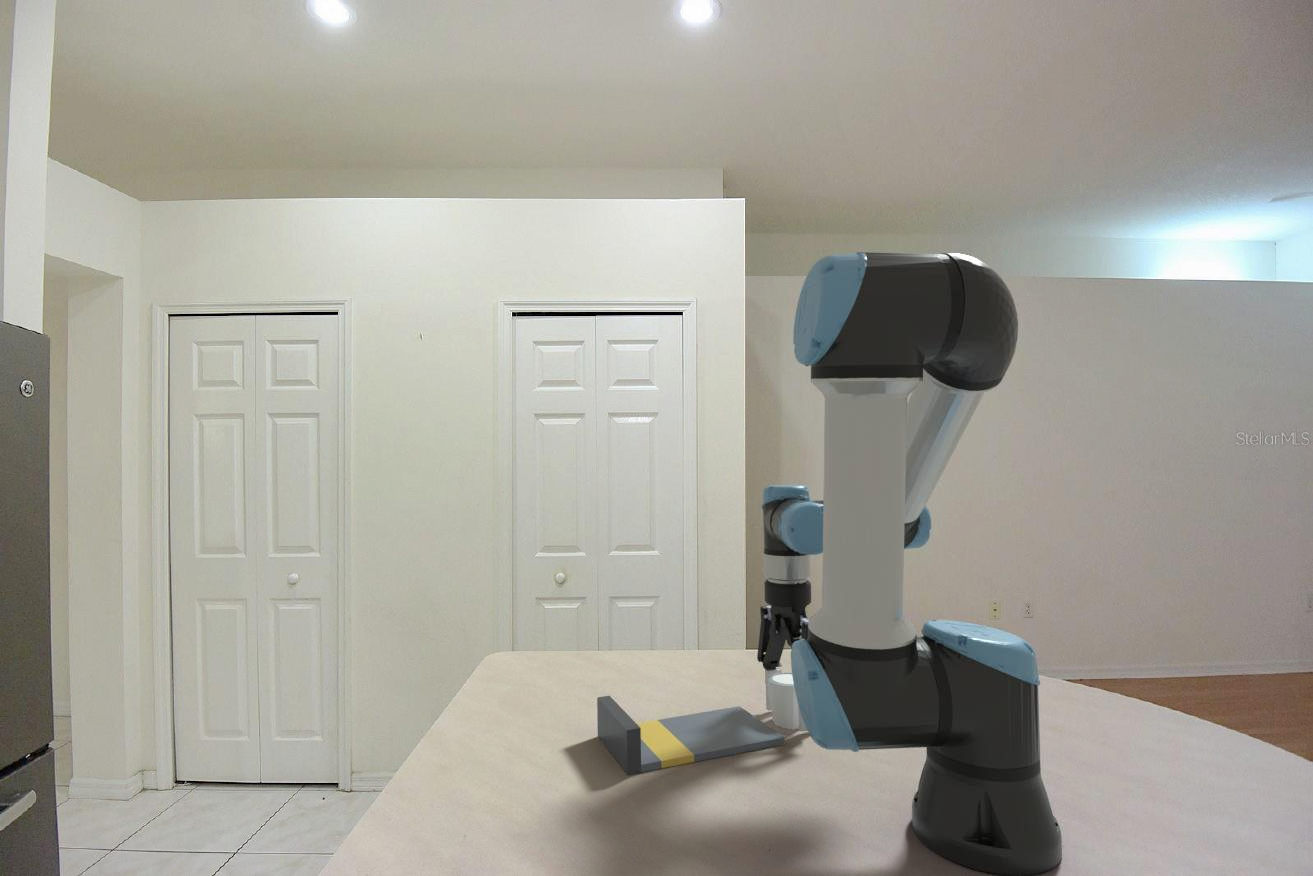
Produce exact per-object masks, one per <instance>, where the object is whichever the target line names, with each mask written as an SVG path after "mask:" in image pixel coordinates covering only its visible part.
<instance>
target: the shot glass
mask: <svg viewBox="0 0 1313 876" xmlns="http://www.w3.org/2000/svg"><path fill="white" fill-rule="evenodd" d="M768 681H769V690H770V699H771V708H772V710H771V716H772V723H773V724H774V725H776V726H777V727H779V728H784V729H788V730H789V729H792V730H796V729H799V714H798V701H797V697H796V692H795V687H794V682H793V676H792V672H782V673H777V674H773V675H771V676H769V679H768Z"/></svg>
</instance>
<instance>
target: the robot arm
mask: <svg viewBox="0 0 1313 876" xmlns="http://www.w3.org/2000/svg"><path fill="white" fill-rule="evenodd" d="M795 311H796V312H795V317H794V324H793V336H792V337H793V339H792V340H793V345H794V351H793V352H794V356H795V359H796V361H797V362H798V363H799V364H801V365H804V366H805V367H809V366H810V383H812V385H813V386H814V387H816V388H817V390H819V392H820V393H821V394H822V396H823V398H824V421H823V422H824V424H823V425H824V426H823V427H824V429H823V431H824V432H823V433H824V434H823V438H824V439H823V499H822V500H811V498H810V492H809V488H808V487H807V486H806V485H803V484H772V485H767V486H765V488H763V492H762V493H763V495H762V498H763V499H762V504H761V509H762V520H763V522H762V523H763V526H762V527H763V576H764V578H766V580H765V581H763V582H764V583H763V584H764V601H765V603H766V604H767V605H766V606H765V605H764V606H760V608H759V609H760V611H759V612H760V627H759V637H758V647H757V648H758V649H757V655H756V656H757V657H756V659H757V662H759V663H762V667H763V669H764V670H765V671H764V672H765V673H764V676H765V677H764V678H765V703H766V704H765V705H766V706H765V708H766V710H767V711H772V708H771V699H770V690H769V681H768V679H769V676H771V675H773V674H777V673H783V671H782V668H781V667H782V666H783V664H782V663H781V658H782V654H783V652H784V648H785V645H786V643H787V645H788V646H789V647H790V649H791V650H790V667H791V668H790V669H791V673H792V676H793V682H794V687H795V692H796V697H797V701H798V714H799V728H798V731H799V732H801V733H804V732H808V735H809V736H810V738H811V740H812V741H813V742H814V743H815V744H816V745H817V746H818V747H820V748H822V749H825V750H831V751H833V750H834V751H835V750H836V751H837V750H838V751H840V750H841V751H843V750H844V751H845V750H846V751H851V752H854V753H857V752H859V751H862V750H864V751H866V750H869V751H870V750H888V749H890V750H891V749H916V748H918V749H919V748H926V755H925V756H926V759H925V762H924V765H923V768H922V770H921V774H920V778H919V782H918V787H917V791H916V792H915V793H914V795H913V798H912V803H911V821H912V822H911V823H912V828H913V830H914V833H915V834H916V836H917V837H918V839H919V840H920V841H921V842H922V843H923V844H924V845H926V846H927V847H928V848H929V849H931V850H932V851H933V852H935V853H937V854H938V855H940V856H942V857H943V858H946V859H947V860H949V861H951V862H954V863H956V864H959V865H962V866H964V867H967V868H970V869H974V870H977V871H982V872H985V873H991V874H995V875H996V874H997V875H1004V876H1031V875H1038V874H1041V873H1044V872H1048V871H1050V870H1051V869H1054V868H1056V866H1057V865H1058V864H1059V863H1060V862H1061V860H1062V857H1063V841H1062V830H1061V826H1060V824H1059V822H1058V820H1057V818H1056V817H1055V815H1054V814H1053V809H1052V807H1051V803H1050V799H1049V796H1048V794H1047V790H1046V788H1045V784H1044V781H1043V777H1042V773H1041V771H1042V770H1041V769H1042V768H1041V767H1042V766H1041V738H1040V737H1041V736H1040V735H1041V734H1040V733H1041V732H1040V731H1041V730H1040V708H1039V707H1040V701H1039V699H1040V698H1039V686H1041V680H1040V678H1039V670H1038V663H1037V662H1038V661H1037V657H1036V656H1037V655H1036V651H1035V649H1034V648H1033V647H1032V645H1031V644H1030V642H1028V641H1027V640H1025V639H1024V638H1022V637H1020V636H1018V635H1016V634H1014V633H1011V632H1008V631H1005V630H1001V629H998V628H995V627H990V626H987V625H986V626H985V625H982V624H976V623H972V622H965V621H959V620H951V619H932V620H927V621H925V622H924V624H923V626H922V629H921V634H922V635H923V636H918V631H917V629H916V628H915V626H914V625H913V623H911V622H910V621H909V620H908V619H907V617H906V616H904V613H903V608H904V607H903V604H904V565H905V563H904V562H905V557H904V556H905V550H909V549H920V548H922V547H924V546H925V545H926V544H927V543H928V541H929V540H930V537H931V529H932V518H931V513H930V510H929V508H928V506H927V503H928V501H929V500H930V498H931V495H932V494H933V492H934V490H935V488H936V486H937V484H938V482H939V481H940V479H941V477H942V475H943V473H944V471H945V469H946V467H947V465H948V464H949V462H950V460H951V457H952V456H953V454H954V451H955V450H956V448H957V446H958V445H959V442H960V440H961V439H962V437H963V435H964V433H965V430H966V429H967V427H968V425H969V423H970V421H971V419H972V418H973V416H974V414H975V411H976V410H977V408H978V406H979V404H980V402H981V400H982V398H983V396H984V395H985V392H986V393H987V392H989V391H992V390H994V389H996V388H997V387H998V386H999V385H1000V384H1001V382H1002V380H1003V379H1004V377H1005V375H1006V373H1007V371H1008V370H1009V367H1010V366H1011V363H1012V361H1013V358H1014V355H1015V353H1016V348H1017V344H1018V338H1019V337H1018V334H1019V320H1018V319H1019V318H1018V312H1017V308H1016V304H1015V301H1014V298H1013V295H1012V293H1011V291H1010V289H1009V287H1008V286H1007V284H1006V282H1005V281H1004V280H1003V278H1002V277H1001V276H1000V275H999V274H998V273H997V272H996V271H995V270H994V269H993V268H992V267H990V266H989V265H988V264H986V263H985V262H982V261H981V260H980V259H978V258H976V257H973V256H970V255H966V254H963V253H962V254H961V253H954V252H944V253H911V252H910V253H905V252H904V253H903V252H865V251H857V252H853V253H851V252H850V253H842V254H841V253H840V254H829V255H826V256H824V257H821V258H820V259H818V260H817V261H816V262H815V263H813V265H812V266H811V268H810V270H809V271H808V273H807V275H806V277H805V279H804V281H803V285H802V287H801V290H800V293H799V297H798V300H797V304H796V310H795ZM909 395H910V396H909ZM908 397H909V398H908ZM821 554H822V581H821V582H822V583H821V584H822V586H821V588H822V591H821V594H822V595H821V596H822V597H821V598H822V600H821V608H820V609H819V610H818V611H817V612H816V613H814V614H813V615H812V616H810V618H808V616H807V613H806V608H807V606H809V605H810V604H811V603H812V583H811V581H810V580H809V579H810V578H811V556H816V555H821Z"/></svg>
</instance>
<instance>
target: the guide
mask: <svg viewBox="0 0 1313 876" xmlns="http://www.w3.org/2000/svg"><path fill="white" fill-rule="evenodd" d="M596 701H597V705H596V706H597V711H596V712H597V738H598V739H599V740H600V741H601V743H602V744H603V745H604V747H605V748H606V749H607V751H609V753H610V755H611V756H612V757H613V758H614V760H615V761H616V762H617V763H618V765H619V766H620V767H621V768H622V770H623V771H624V773H625V774H626V775H633V774H640V773H644V772H649V771H654V770H659V769H666V768H671V767H674V766H680V765H683V764H684V765H685V764H690V763H694V762H700V761H704V760H710V759H715V758H720V757H721V758H722V757H726V756H730V755H735V754H741V753H747V752H750V751H755V750H761V749H766V748H771V747H776V746H777V747H778V746H782V745H785V744H786V741H785V740H786V737H785V736H784V735H783V734H781V733H780V732H778V731H776V730H775V729H774V728H772V727H770V726H769V725H768V724H766V723H765V722H763V721H762V720H761V719H759V718H757V717H756V716H755V715H753V714H751V713H750V712H749V711H747V710H746V709H745V708H743V707H741V706H740V705H738V706H733V707H726V708H721V709H714V710H709V711H703V712H695V713H690V714H686V715H679V716H673V717H667V718H661V719H654V720H649V721H643V722H636V721H635V720H634V719H632V717H631V716H630V715H629V714H628V713H627V712H626V711H625V710H624V709H623V708H622V707H621V706H620V705H619V704H618V703H617V701H615V700H614V698H612V696H611V695H603V696H598V697H597V699H596Z"/></svg>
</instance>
